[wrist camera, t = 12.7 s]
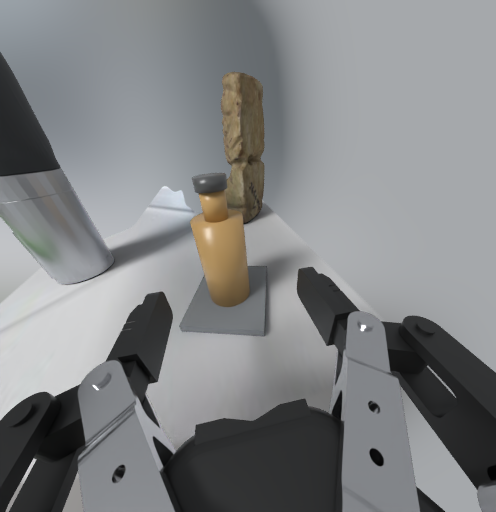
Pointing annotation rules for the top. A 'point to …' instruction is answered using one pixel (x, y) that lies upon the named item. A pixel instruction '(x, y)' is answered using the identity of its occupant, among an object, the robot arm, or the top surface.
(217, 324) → the mat
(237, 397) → the top surface
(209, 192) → the bottle
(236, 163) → the sculpture
